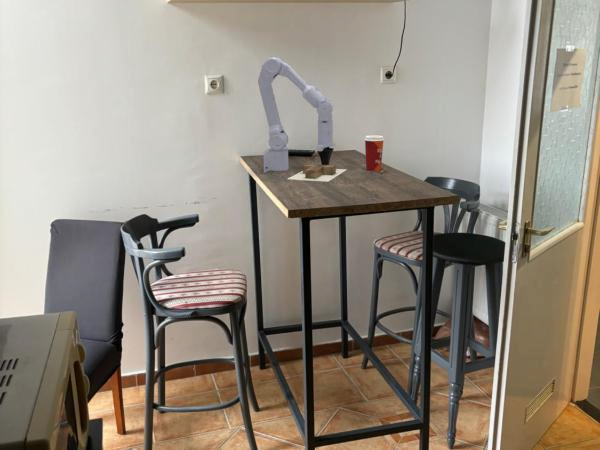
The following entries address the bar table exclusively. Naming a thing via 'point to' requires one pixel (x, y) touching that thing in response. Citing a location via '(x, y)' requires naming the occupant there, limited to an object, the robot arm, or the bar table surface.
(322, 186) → the bar table surface
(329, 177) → the board
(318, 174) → the t block
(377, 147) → the paper cup
